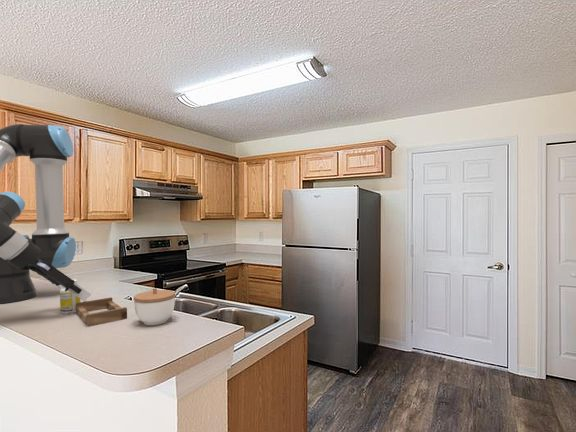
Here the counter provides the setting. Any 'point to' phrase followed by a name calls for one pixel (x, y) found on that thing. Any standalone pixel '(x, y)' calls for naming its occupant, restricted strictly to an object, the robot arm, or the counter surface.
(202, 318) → the counter surface
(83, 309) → the walnut frame
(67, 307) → the supplement bottle
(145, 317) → the lidded jar
